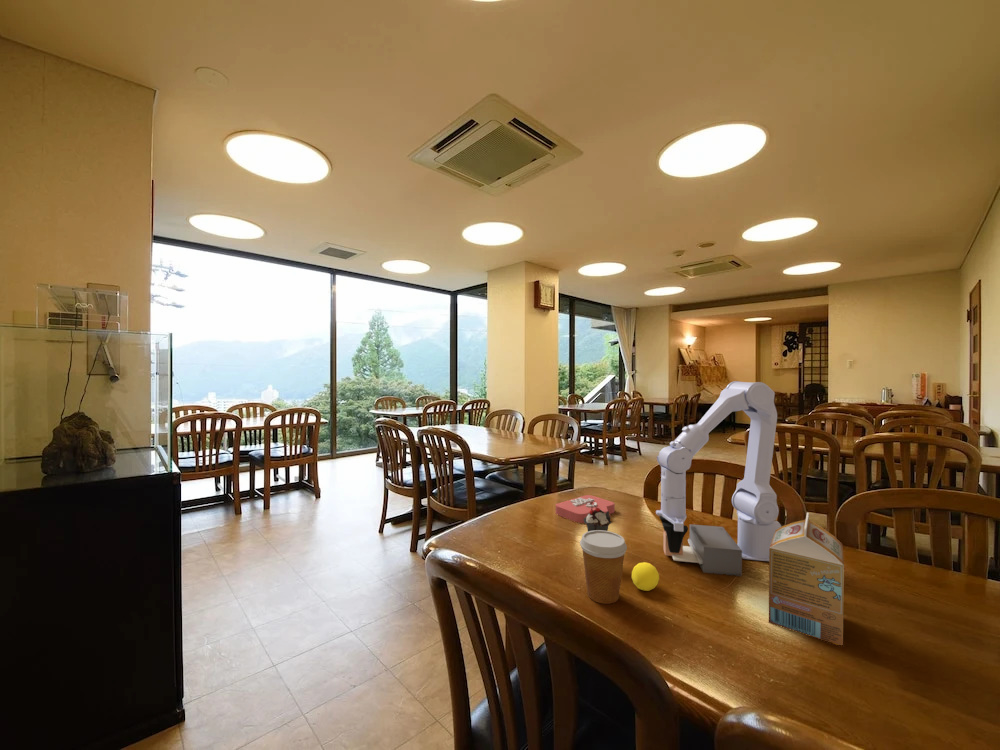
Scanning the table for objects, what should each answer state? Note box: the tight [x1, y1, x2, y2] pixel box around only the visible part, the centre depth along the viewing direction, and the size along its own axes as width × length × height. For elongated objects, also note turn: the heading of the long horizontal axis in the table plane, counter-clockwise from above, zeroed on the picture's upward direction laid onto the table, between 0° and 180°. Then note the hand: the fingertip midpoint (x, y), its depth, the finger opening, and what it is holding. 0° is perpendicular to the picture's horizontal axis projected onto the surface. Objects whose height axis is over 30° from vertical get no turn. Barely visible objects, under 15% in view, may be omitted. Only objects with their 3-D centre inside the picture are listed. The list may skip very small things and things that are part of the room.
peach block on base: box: [662, 530, 699, 564], centre depth 101 cm, size 14×8×5 cm, turn 77°
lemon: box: [631, 561, 660, 592], centre depth 87 cm, size 7×5×5 cm
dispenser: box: [687, 523, 743, 577], centre depth 100 cm, size 9×14×6 cm, turn 167°
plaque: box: [555, 494, 616, 524], centre depth 132 cm, size 18×4×15 cm
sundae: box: [583, 502, 612, 532], centre depth 99 cm, size 7×7×15 cm
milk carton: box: [768, 512, 845, 646], centre depth 76 cm, size 11×11×19 cm
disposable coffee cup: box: [579, 530, 628, 605], centre depth 84 cm, size 10×10×12 cm
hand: (672, 548), depth 102 cm, fingers closed on peach block on base, 3 cm apart
